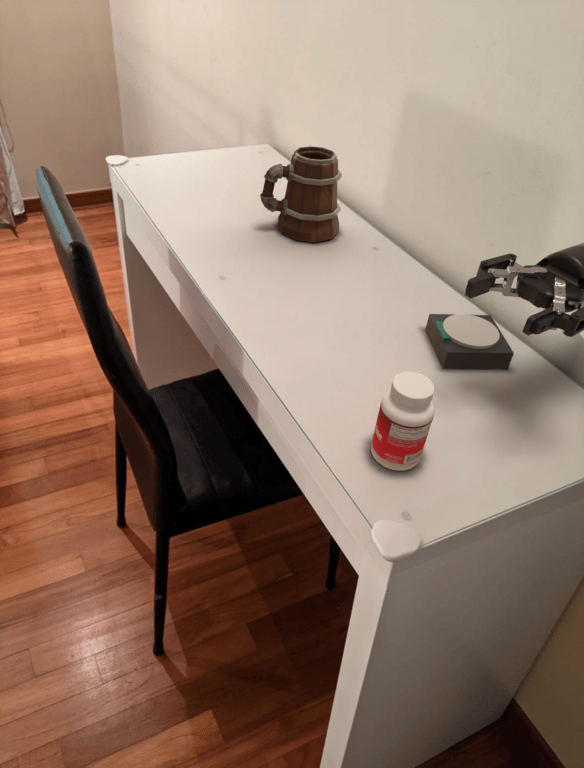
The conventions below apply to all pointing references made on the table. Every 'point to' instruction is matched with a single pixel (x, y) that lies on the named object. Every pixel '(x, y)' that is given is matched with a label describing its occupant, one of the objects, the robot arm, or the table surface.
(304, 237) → the mug
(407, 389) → the pill bottle
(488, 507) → the table surface
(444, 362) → the scale
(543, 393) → the table surface
